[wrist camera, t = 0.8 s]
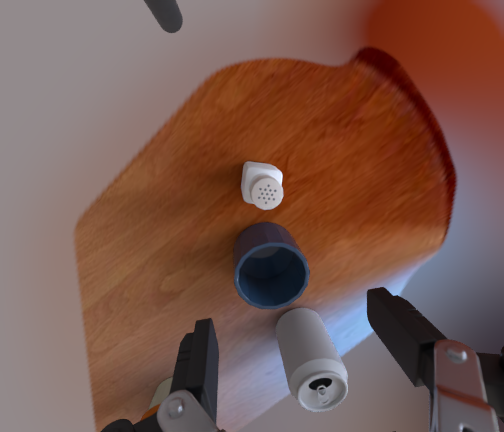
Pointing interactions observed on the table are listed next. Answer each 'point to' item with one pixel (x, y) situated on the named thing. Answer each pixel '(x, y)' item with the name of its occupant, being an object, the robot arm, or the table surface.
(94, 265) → the table surface
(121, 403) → the table surface
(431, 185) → the table surface
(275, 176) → the salt shaker
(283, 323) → the can
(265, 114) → the table surface
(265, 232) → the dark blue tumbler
